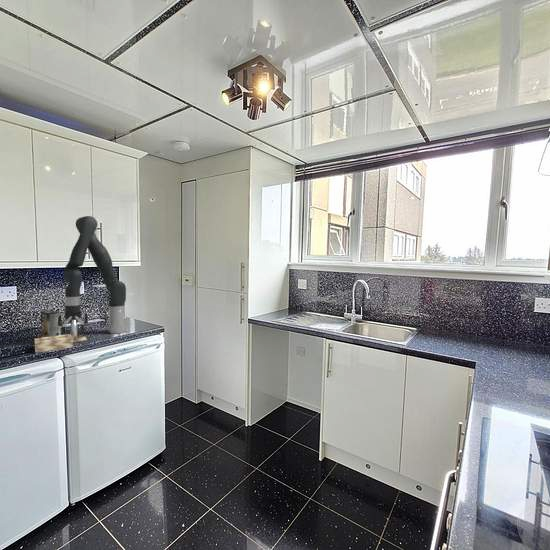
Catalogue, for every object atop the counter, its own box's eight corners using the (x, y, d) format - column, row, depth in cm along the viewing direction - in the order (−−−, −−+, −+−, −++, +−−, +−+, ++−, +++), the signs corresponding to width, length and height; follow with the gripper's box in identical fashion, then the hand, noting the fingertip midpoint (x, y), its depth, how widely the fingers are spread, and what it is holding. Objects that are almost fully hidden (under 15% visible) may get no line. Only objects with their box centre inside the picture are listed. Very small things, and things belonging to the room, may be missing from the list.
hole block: (70, 342, 170) (70, 333, 170) (73, 346, 162) (73, 337, 162) (34, 347, 160) (34, 338, 159) (35, 352, 152) (35, 343, 152)
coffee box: (40, 338, 176) (39, 311, 175) (53, 336, 182) (52, 310, 181) (49, 341, 172) (48, 313, 171) (61, 338, 178) (60, 311, 177)
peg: (76, 338, 176) (76, 318, 176) (77, 339, 174) (77, 319, 173) (70, 339, 175) (70, 319, 174) (71, 340, 172) (70, 320, 171)
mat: (85, 337, 181) (85, 336, 181) (87, 340, 176) (87, 339, 176) (69, 339, 176) (69, 338, 176) (70, 342, 170) (70, 341, 170)
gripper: (86, 302, 180) (86, 329, 181) (57, 304, 171) (57, 332, 172) (88, 304, 175) (88, 331, 176) (58, 306, 166) (58, 335, 167)
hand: (73, 331), depth 174 cm, fingers open, 8 cm apart
